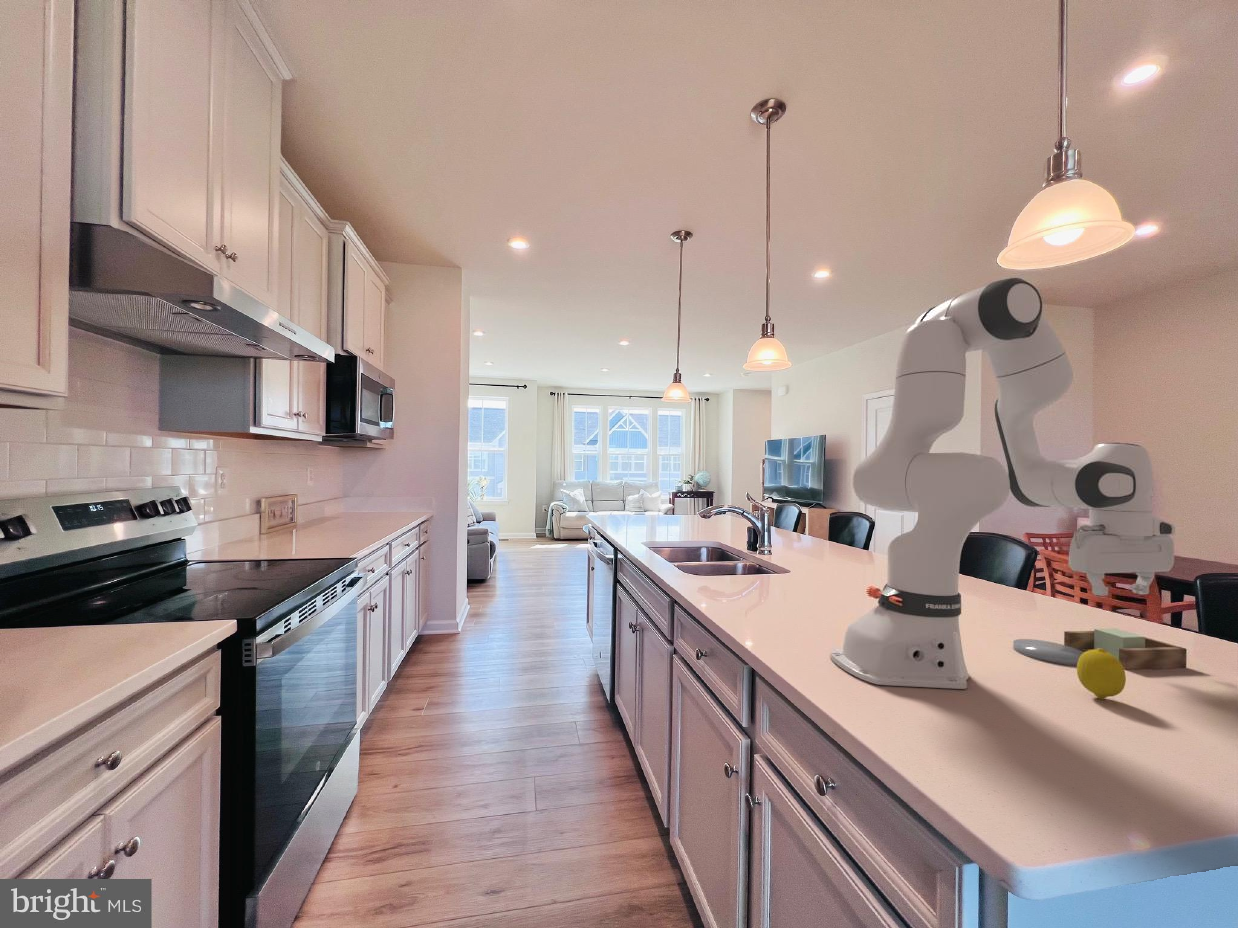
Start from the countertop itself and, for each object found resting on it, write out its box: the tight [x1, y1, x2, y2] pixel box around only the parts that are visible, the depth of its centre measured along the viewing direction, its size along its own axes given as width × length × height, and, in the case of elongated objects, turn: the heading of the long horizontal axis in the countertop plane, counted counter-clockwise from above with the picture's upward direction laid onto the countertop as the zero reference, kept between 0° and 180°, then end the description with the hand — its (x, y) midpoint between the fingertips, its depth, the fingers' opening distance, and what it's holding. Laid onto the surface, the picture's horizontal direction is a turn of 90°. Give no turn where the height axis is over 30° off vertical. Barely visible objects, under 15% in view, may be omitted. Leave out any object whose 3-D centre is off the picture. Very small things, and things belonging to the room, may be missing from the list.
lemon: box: [1076, 648, 1127, 700], centre depth 77 cm, size 6×6×8 cm
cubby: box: [1063, 630, 1188, 671], centre depth 96 cm, size 14×11×4 cm
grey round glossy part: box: [1012, 638, 1085, 666], centre depth 97 cm, size 11×11×1 cm
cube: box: [1093, 628, 1145, 660], centre depth 96 cm, size 5×5×5 cm
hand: (1120, 594), depth 96 cm, fingers open, 8 cm apart
